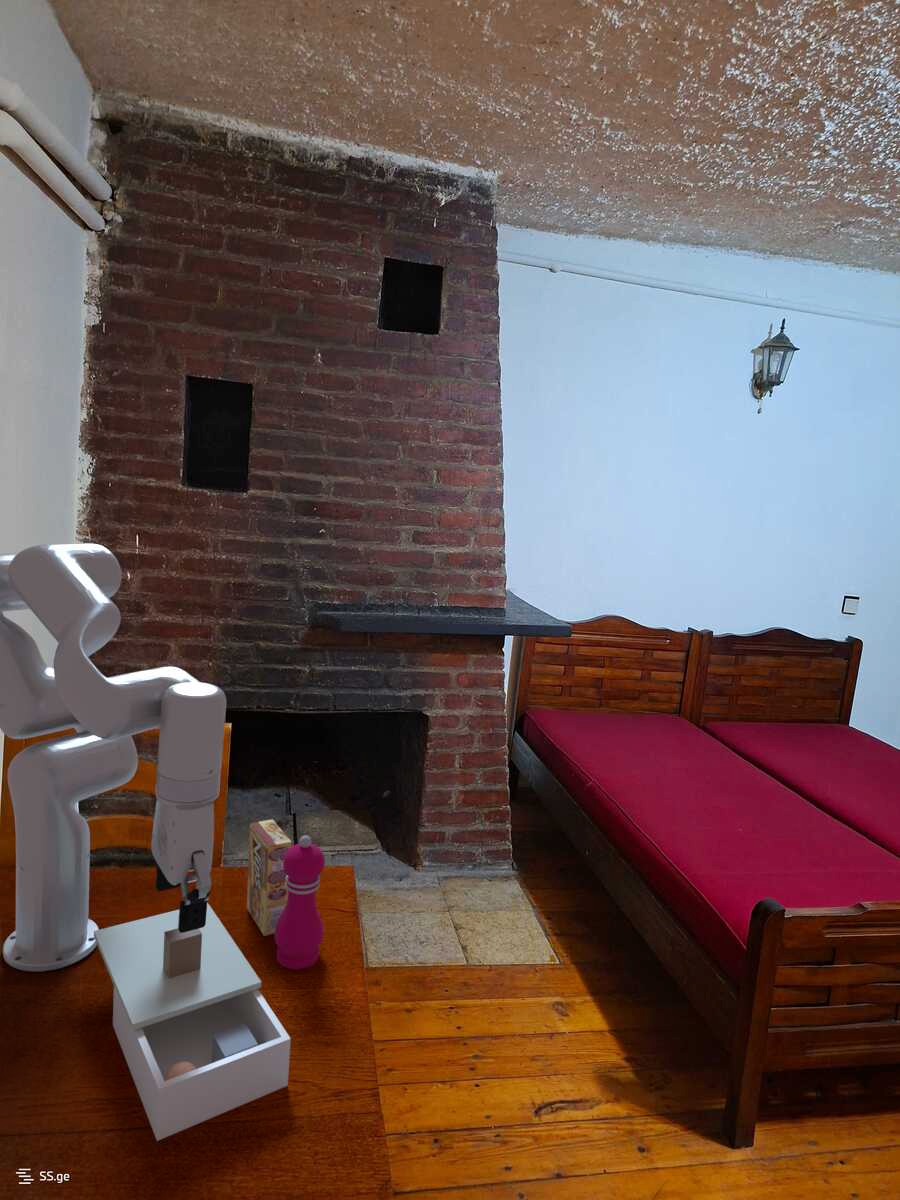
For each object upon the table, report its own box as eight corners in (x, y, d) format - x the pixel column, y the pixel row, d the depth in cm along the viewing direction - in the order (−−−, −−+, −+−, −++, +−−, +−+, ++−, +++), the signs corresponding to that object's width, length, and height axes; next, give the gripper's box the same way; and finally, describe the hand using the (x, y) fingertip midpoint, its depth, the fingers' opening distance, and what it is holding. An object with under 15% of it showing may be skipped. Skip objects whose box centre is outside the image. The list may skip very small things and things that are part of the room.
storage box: (112, 1030, 97) (114, 980, 96) (227, 992, 106) (229, 946, 105) (156, 1147, 82) (158, 1089, 81) (287, 1091, 91) (290, 1038, 89)
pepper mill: (278, 979, 110) (286, 850, 107) (268, 950, 117) (276, 827, 113) (326, 970, 113) (336, 844, 110) (315, 942, 119) (323, 822, 116)
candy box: (288, 931, 122) (294, 841, 119) (262, 937, 119) (268, 846, 117) (268, 903, 129) (273, 818, 127) (244, 909, 127) (249, 822, 124)
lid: (93, 936, 104) (94, 897, 103) (207, 907, 114) (208, 871, 113) (132, 1030, 88) (133, 985, 87) (261, 987, 97) (263, 945, 96)
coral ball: (160, 1088, 88) (161, 1061, 88) (191, 1076, 90) (192, 1049, 90) (169, 1110, 85) (170, 1082, 85) (201, 1098, 87) (202, 1070, 87)
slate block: (211, 1064, 92) (213, 1034, 92) (243, 1052, 95) (245, 1023, 94) (223, 1086, 89) (225, 1056, 89) (256, 1073, 92) (257, 1044, 91)
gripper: (138, 760, 99) (131, 880, 102) (179, 818, 85) (169, 955, 88) (196, 753, 104) (188, 868, 106) (243, 807, 90) (232, 938, 93)
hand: (179, 907), depth 97 cm, fingers open, 9 cm apart
